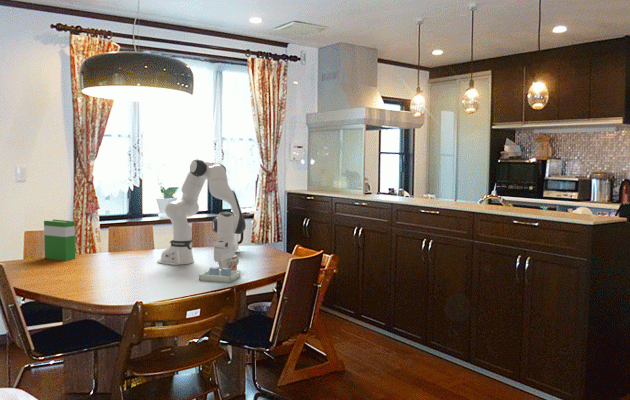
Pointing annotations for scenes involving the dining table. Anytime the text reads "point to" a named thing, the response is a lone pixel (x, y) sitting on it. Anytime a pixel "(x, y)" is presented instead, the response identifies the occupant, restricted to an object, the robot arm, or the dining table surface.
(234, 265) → the teacup with lid
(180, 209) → the robot arm
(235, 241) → the coffee press
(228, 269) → the blue block
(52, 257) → the cereal box
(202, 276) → the sage tray
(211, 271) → the blue block
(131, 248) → the dining table surface
